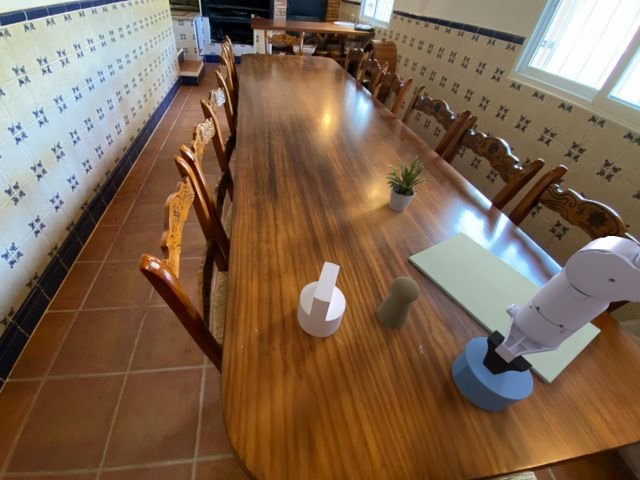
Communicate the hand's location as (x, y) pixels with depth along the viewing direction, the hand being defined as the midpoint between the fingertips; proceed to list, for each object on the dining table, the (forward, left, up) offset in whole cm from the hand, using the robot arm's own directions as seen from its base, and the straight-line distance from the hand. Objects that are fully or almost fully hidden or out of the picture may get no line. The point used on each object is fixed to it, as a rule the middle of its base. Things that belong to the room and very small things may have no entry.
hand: (503, 357), depth 49 cm
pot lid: (0, 0, -3) cm, 3 cm away
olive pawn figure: (+17, +5, -9) cm, 20 cm away
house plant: (+46, -26, -9) cm, 54 cm away
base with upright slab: (+24, +19, -9) cm, 32 cm away
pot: (0, 0, -9) cm, 9 cm away
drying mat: (+10, -22, -9) cm, 26 cm away
